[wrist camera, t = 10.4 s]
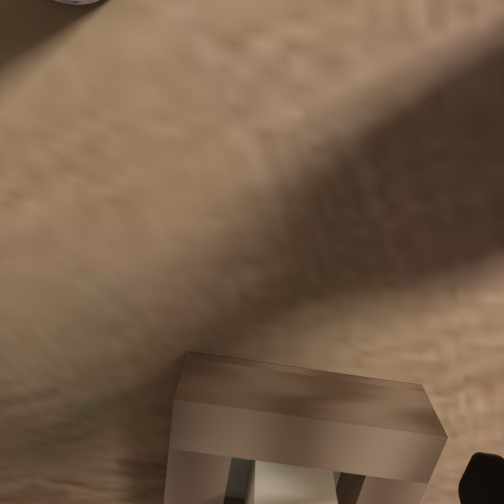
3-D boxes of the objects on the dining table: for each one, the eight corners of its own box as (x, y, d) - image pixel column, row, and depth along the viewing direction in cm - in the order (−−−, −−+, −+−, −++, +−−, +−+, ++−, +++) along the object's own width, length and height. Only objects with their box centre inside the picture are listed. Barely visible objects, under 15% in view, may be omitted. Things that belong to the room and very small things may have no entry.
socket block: (421, 385, 22) (448, 437, 19) (363, 538, 27) (376, 601, 24) (187, 351, 22) (173, 399, 19) (170, 513, 27) (156, 573, 24)
